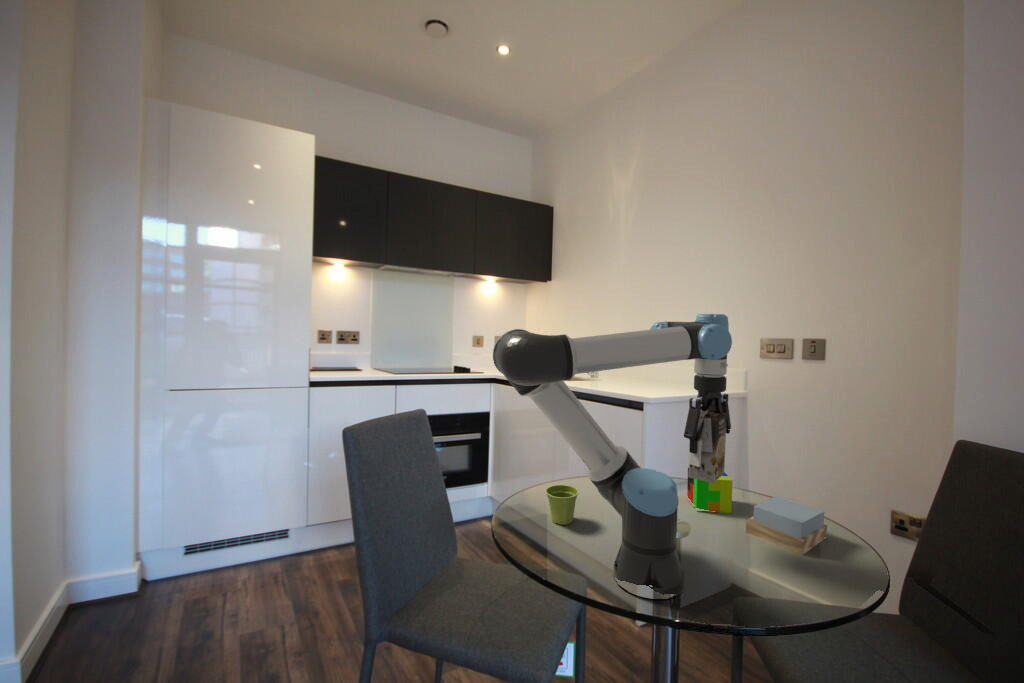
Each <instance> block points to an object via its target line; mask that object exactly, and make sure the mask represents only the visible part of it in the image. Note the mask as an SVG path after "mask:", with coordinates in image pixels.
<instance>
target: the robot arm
mask: <svg viewBox="0 0 1024 683" xmlns="http://www.w3.org/2000/svg"><path fill="white" fill-rule="evenodd" d="M729 327H730V326H729V317H728V316H727V315H726V314H723V313H697V315H696V317H695V321H666V320H665V321H656V322H654V323H653V324H652V325H651V327H650V329H644V330H635V331H626V332H617V333H609V334H601V335H600V334H599V335H592V336H591V335H589V336H583V337H570V336H569V335H567V333H566V334H556V335H554V334H553V335H552V334H551V335H547V334H540V333H539V334H538V333H535V332H534V333H533V332H530V331H528V330H526V329H522V328H521V329H520V328H519V329H518V328H515V329H511V330H509V331H506V332H505V333H503V334H502V335H501V336H499V337H498V339H497V340H495V341H496V342H495V344H494V346H493V349H492V360H493V364H494V366H495V368H496V369H497V371H498V372H499V373H501V374H502V375H503V376H504V377H505V379H506V380H508V381H507V382H509V383H510V385H511V386H512V387H513V388H514V389H515V391H517V393H518V394H519V396H521V397H528V398H530V399H531V400H532V401H533V403H534V404H535V405H536V406H537V407H538V408H539V409H540V411H541V412H542V414H543V415H544V416H545V418H547V419H548V421H549V422H550V423H551V425H552V426H553V427H554V428H555V429H556V430H557V432H558V433H559V434H560V435H561V437H563V439H564V440H565V442H567V444H568V445H569V446H570V448H572V450H573V451H574V452H575V454H576V455H577V457H579V458H580V459H581V461H582V462H583V463H584V464H585V466H586V467H587V471H586V472H587V473H586V474H587V478H588V479H589V480H590V481H591V483H592V484H593V485H594V486H595V488H596V489H597V491H598V493H599V494H600V495H601V496H602V498H603V499H605V500H606V501H607V503H609V504H610V505H611V507H612V508H614V510H615V511H616V513H617V514H619V515H620V517H621V519H622V520H621V544H620V547H619V549H618V552H617V554H616V557H615V560H614V563H613V574H614V575H613V577H614V576H615V577H616V578H617V579H618V580H620V581H626V582H629V583H633V584H636V585H646V586H649V585H652V586H653V587H650V586H649V587H650V588H651V589H653V590H654V591H655V592H659V593H661V594H663V595H664V594H676V595H677V594H679V593H680V592H681V591H682V590H683V591H684V589H683V588H685V574H684V571H683V568H682V566H681V561H680V558H679V554H678V551H677V550H678V549H677V541H678V540H677V537H678V510H679V509H678V506H679V501H680V500H679V496H678V487H677V484H676V482H675V481H674V479H672V478H671V477H670V476H669V475H667V474H666V473H664V472H662V471H657V470H656V469H651V468H646V467H645V468H644V467H641V466H640V465H639V464H638V462H637V461H636V460H635V459H634V458H633V456H632V455H631V454H630V453H629V452H628V450H627V449H626V448H625V447H624V446H622V445H615V443H614V442H613V441H612V440H611V438H610V437H609V436H608V435H607V434H606V433H605V431H604V430H603V429H602V427H600V425H599V424H598V422H596V420H595V419H594V417H592V416H593V415H591V414H590V413H589V411H588V410H587V409H586V408H585V406H584V405H583V403H581V401H580V400H579V399H578V398H577V396H576V395H575V393H574V392H573V391H572V390H571V389H570V388H569V386H568V385H567V384H566V383H565V381H570V380H572V379H574V377H575V375H579V374H586V373H595V372H601V371H602V372H603V371H609V370H619V369H626V368H632V367H633V368H634V367H641V366H648V365H656V364H662V363H663V364H664V363H671V362H672V363H673V362H678V361H679V362H681V361H689V360H694V367H693V368H694V370H693V372H694V376H693V389H694V390H696V391H697V396H696V398H693V397H690V398H689V399H688V400H689V407H688V408H689V409H688V414H687V418H686V423H685V428H684V433H683V437H684V438H685V439H687V440H689V447H688V448H689V457H688V458H689V459H688V465H689V464H691V465H694V466H697V467H701V445H702V441H701V440H699V439H700V436H701V433H702V430H703V427H704V418H703V417H707V416H709V415H710V413H711V412H713V413H718V414H720V413H727V420H726V435H727V434H730V433H731V429H732V424H731V416H730V409H729V407H730V406H729V394H727V393H724V392H726V391H727V376H725V375H726V374H727V370H728V368H727V367H728V354H729V352H730V351H731V348H732V345H733V340H732V339H733V338H732V335H731V332H730V330H729ZM700 416H701V418H699V417H700ZM683 591H682V592H683ZM682 592H681V593H682ZM681 593H680V594H681ZM680 594H679V595H680Z"/></svg>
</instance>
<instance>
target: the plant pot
mask: <svg viewBox="0 0 1024 683" xmlns="http://www.w3.org/2000/svg"><path fill="white" fill-rule="evenodd" d="M579 491H580V490H579V489H578V488H576V487H574V486H571V485H567V484H555V485H554V484H553V485H550V486H548V487H547V488H545V491H544V492H545V494H546V497H547V499H548V505H549V511H550V518H551V522H552V523H554V524H558V525H561V526H562V525H564V526H565V525H569V524H571V523H572V522H574V516H575V509H576V500H577V499H578V495H579V493H580V492H579Z"/></svg>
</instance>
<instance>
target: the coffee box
mask: <svg viewBox="0 0 1024 683" xmlns="http://www.w3.org/2000/svg"><path fill="white" fill-rule="evenodd" d="M699 418H701V416H700V417H699ZM703 418H704V427H703V430H702V433H701V436H700V439H699V440H701V441H702V445H701V467H697V466H694V465H691V464H689V463H688V468H689V478H694V479H698V480H702V481H707V482H711V483H714V482H715V481H716V480H717V479H718V478H720V477H721V476H722V475H723V474H724V472H725V462H726V461H725V460H726V459H725V458H726V441H727V440H726V438H727V433H726V420H727V413H720V414H718V413H713V412H711V413H710V415H709V416H707V417H703Z"/></svg>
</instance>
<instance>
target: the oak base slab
mask: <svg viewBox="0 0 1024 683" xmlns="http://www.w3.org/2000/svg"><path fill="white" fill-rule="evenodd" d="M745 522H746V523H745V524H746V525H745V533H746V534H748V535H751V536H754V537H756V538H758V539H761V540H763V541H766V542H768V543H770V544H771V543H772V544H773V545H776V546H778V547H781V548H784V549H786V550H789V551H791V552H794V553H796V554H799V555H802V556H803V555H805V554H806V553H807V552H809V551H810V550H812V549H813V548H815V547H817V544H818V543H819V542H820V541H821V540H823V539H824V538H825V537H827V536H828V534H827V533H828V525H826V524H824V526H823V527H821V528H820V529H818V530H816V531H814V532H812V533H811V534H809V535H807V536H805V537H804V538H802V539H800V538H797V537H795V536H792V535H790V534H787V533H784V532H782V531H779V530H777V529H774V528H771V527H769V526H766V525H764V524H761V523H759V522H756V521H753V516H751V517H750V518H748V519H746V521H745ZM819 544H820V543H819ZM819 544H818V545H819Z"/></svg>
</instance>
